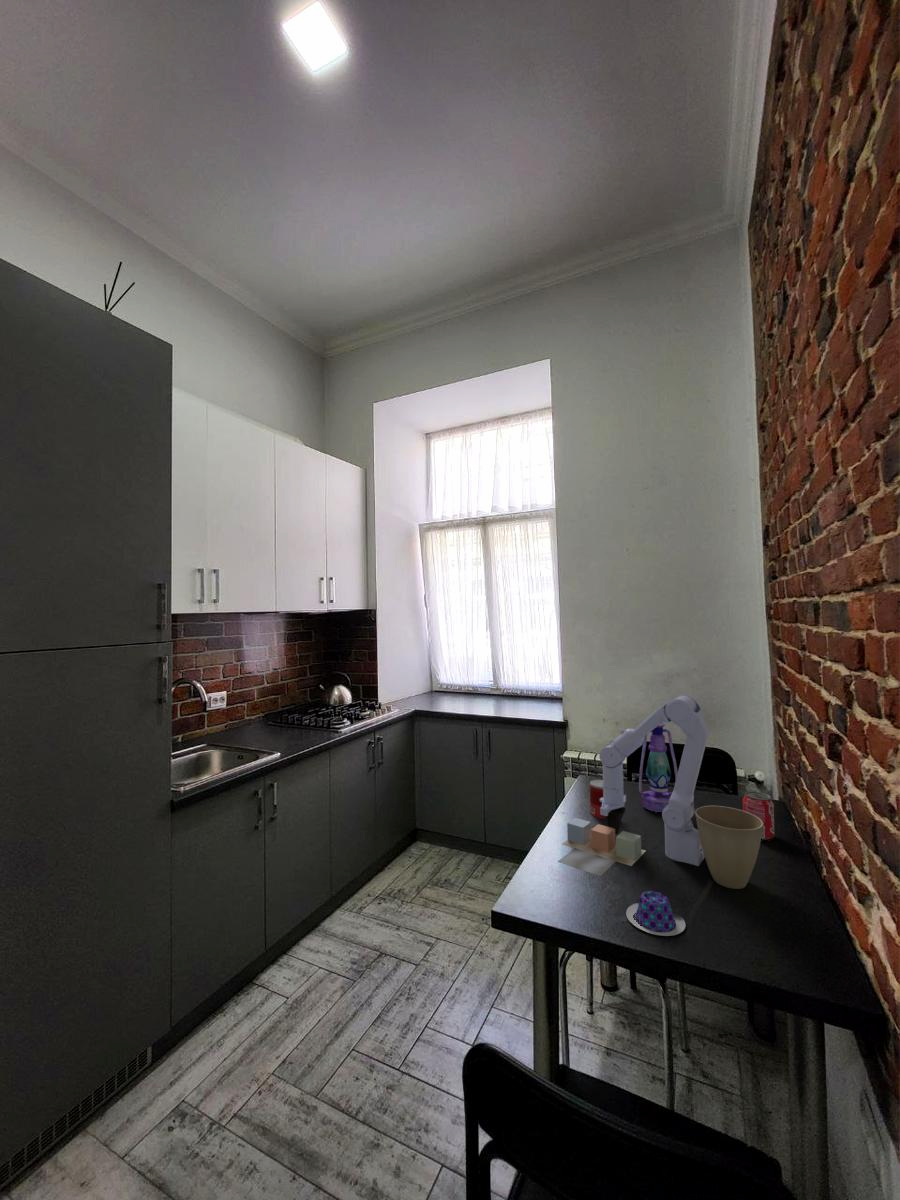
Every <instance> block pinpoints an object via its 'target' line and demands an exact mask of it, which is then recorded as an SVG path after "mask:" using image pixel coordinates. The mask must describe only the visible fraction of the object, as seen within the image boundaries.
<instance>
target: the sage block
mask: <svg viewBox="0 0 900 1200" xmlns="http://www.w3.org/2000/svg"><path fill="white" fill-rule="evenodd" d="M615 842H616V856H619V857H622V858H626V859H629V860H632V861H636V859H637V858H638V857H639V856H640V855H641V849H642V835H639V834H636V833H632V832H628V831H626V830H625V831H624V830H622V831H621V832H620V833H618V834H617V836H615ZM641 856H642V855H641ZM636 862H637V861H636Z"/></svg>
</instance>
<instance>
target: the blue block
mask: <svg viewBox="0 0 900 1200" xmlns="http://www.w3.org/2000/svg"><path fill="white" fill-rule="evenodd" d="M566 824H567V825H566V826H567V830H566V832H567V840H568V841H571V842H574V843H578V844H581V845H585V844H586V843H587V842H588V841H590V840H591V829H592V821H588V820H585V819H581V818H578V817H574V818H572V819H571V820H569V821H568V822H567V823H566Z"/></svg>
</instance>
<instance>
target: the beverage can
mask: <svg viewBox="0 0 900 1200" xmlns="http://www.w3.org/2000/svg"><path fill="white" fill-rule="evenodd" d="M774 808H775V807H774V802H773V801H772V798H771V796H770V795H769V794H767V793H763V792H758V791H746V792H745V793H744V796H743V798H742V811H746V812H748V813H751V814H753V815H755V816H757V817H758V818H760V819H761V820H762V822H763V830H762V836H761V839H771V838H772V839H774V837H775V836H776V835H775V811H774ZM772 839H771V840H772Z"/></svg>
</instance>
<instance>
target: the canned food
mask: <svg viewBox="0 0 900 1200" xmlns="http://www.w3.org/2000/svg"><path fill="white" fill-rule="evenodd" d="M600 798H603V779H594V780H590V782H589V807H590V808H589V809H590V812H589V813H590V815H591V816H593V817H594V818H597V819H603V820H604V819H605V820H606V818H605V816H604V815H600V808H601V807H602V802H600Z"/></svg>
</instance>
